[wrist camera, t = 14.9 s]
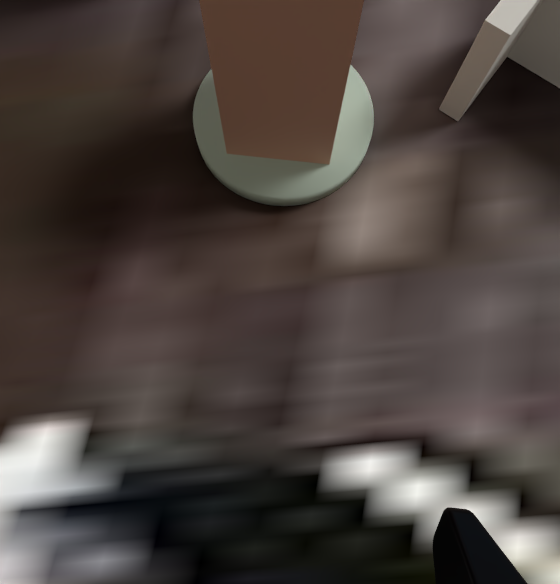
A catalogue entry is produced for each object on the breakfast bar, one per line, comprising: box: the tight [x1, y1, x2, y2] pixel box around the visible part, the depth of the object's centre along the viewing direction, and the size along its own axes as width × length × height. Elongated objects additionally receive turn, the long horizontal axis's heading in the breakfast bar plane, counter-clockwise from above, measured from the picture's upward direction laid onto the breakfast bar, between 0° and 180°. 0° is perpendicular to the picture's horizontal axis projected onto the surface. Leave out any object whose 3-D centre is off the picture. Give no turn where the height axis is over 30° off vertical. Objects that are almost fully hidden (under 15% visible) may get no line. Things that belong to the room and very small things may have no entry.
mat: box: [193, 65, 374, 206], centre depth 25 cm, size 9×9×1 cm
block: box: [199, 0, 364, 164], centre depth 20 cm, size 5×5×10 cm
